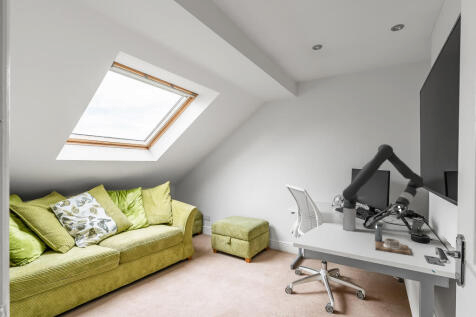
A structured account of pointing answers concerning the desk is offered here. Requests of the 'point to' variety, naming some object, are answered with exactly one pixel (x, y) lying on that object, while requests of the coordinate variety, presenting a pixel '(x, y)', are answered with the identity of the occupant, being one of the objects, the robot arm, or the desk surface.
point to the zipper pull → (416, 227)
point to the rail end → (378, 232)
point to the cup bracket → (392, 246)
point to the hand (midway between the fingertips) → (391, 217)
